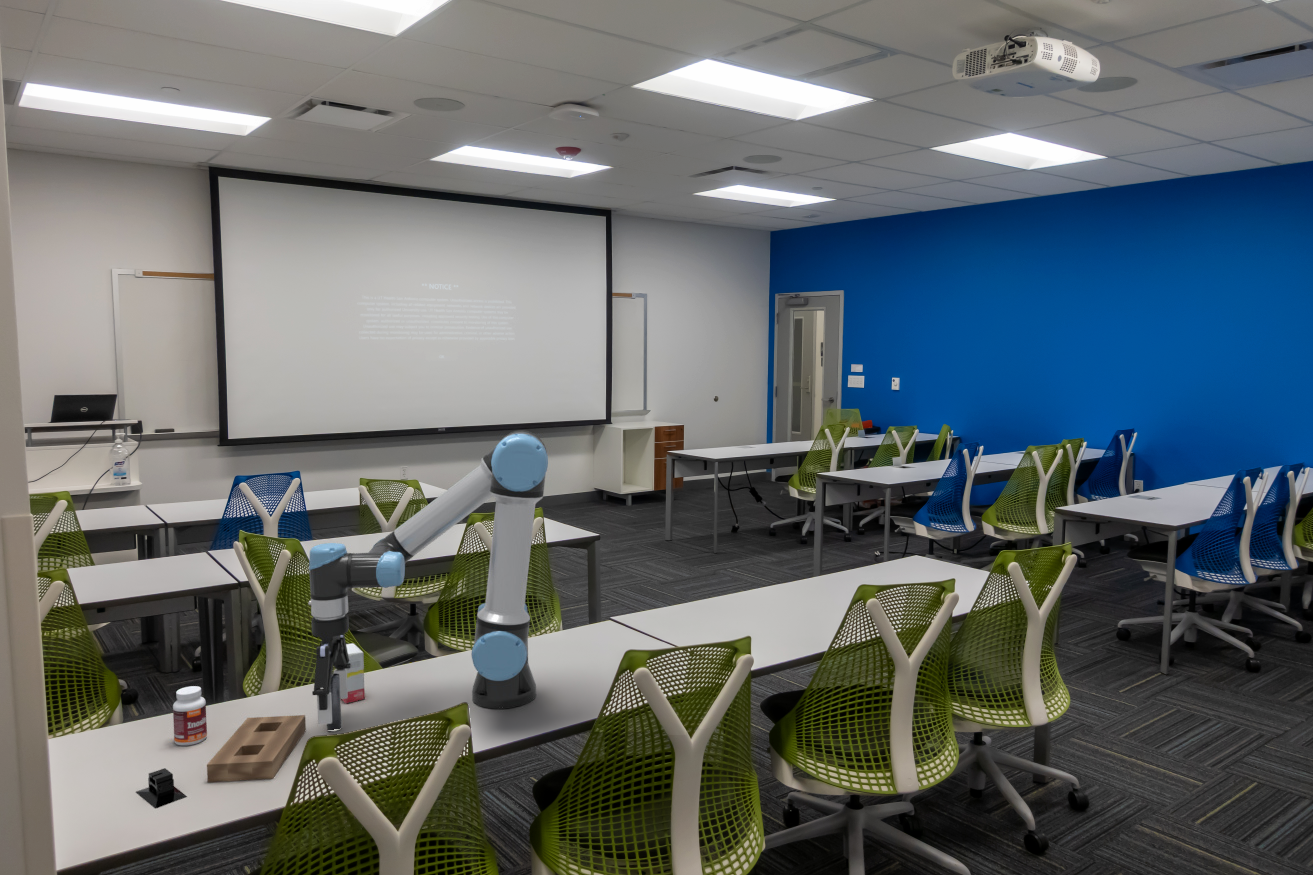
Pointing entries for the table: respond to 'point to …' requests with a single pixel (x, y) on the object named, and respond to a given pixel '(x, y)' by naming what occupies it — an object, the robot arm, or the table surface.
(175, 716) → the pill bottle
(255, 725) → the socket block
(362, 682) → the ink box
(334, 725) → the pin
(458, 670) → the table surface
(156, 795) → the black stepped mount
